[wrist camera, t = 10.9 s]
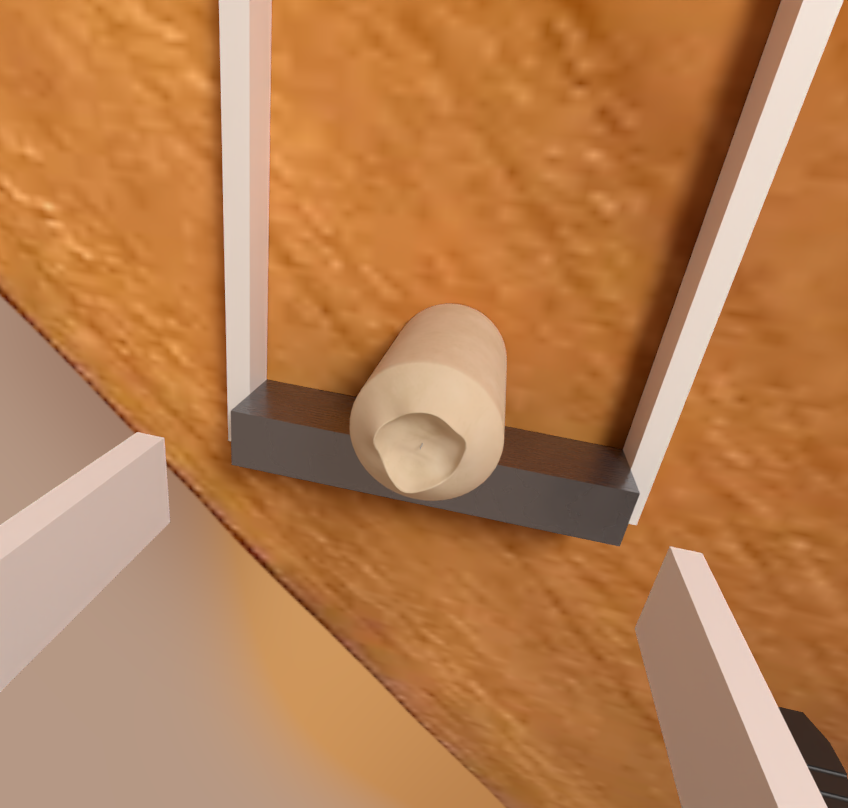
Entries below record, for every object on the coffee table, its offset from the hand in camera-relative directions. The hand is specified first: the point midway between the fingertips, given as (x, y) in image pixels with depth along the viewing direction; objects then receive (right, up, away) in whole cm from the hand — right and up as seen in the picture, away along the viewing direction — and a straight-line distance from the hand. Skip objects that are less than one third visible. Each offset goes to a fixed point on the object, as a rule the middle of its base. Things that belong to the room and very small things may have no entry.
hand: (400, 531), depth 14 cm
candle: (+2, +6, +13) cm, 14 cm away
